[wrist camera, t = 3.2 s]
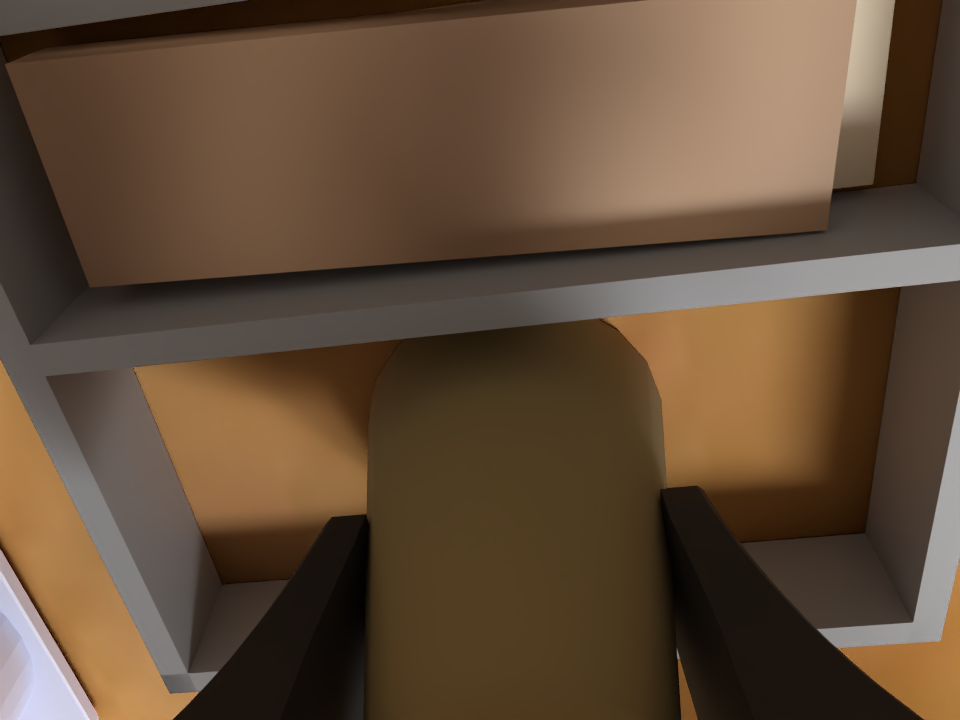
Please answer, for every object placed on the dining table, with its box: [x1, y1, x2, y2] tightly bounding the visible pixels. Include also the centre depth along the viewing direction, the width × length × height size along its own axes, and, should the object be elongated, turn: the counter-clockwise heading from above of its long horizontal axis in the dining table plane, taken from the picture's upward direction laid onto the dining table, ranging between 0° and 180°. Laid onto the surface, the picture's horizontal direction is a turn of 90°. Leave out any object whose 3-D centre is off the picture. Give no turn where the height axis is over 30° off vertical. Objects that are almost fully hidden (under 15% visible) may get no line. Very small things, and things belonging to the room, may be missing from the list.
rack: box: [0, 0, 960, 693], centre depth 15 cm, size 16×14×2 cm
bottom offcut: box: [412, 0, 895, 189], centre depth 14 cm, size 13×4×1 cm, turn 98°
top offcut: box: [5, 0, 857, 287], centre depth 13 cm, size 12×4×1 cm, turn 96°
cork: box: [363, 319, 681, 720], centre depth 12 cm, size 6×6×11 cm
